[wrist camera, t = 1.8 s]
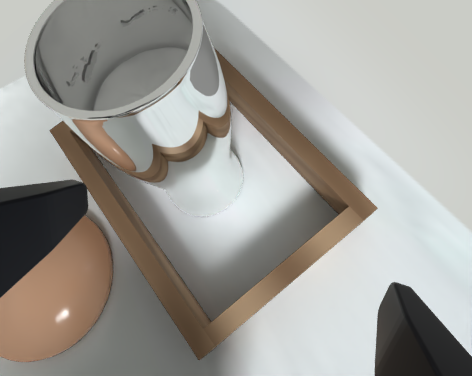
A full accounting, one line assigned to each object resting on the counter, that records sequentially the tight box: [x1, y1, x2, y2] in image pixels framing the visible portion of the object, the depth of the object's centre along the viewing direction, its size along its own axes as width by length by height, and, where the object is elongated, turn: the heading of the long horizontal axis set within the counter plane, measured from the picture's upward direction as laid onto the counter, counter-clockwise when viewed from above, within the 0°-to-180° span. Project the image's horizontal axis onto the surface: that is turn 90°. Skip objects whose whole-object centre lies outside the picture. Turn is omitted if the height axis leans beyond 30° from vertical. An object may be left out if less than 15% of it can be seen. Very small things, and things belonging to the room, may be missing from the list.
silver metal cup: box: [24, 0, 243, 217], centre depth 18 cm, size 7×7×15 cm
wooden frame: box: [50, 48, 378, 360], centre depth 24 cm, size 14×20×3 cm
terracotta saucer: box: [0, 216, 113, 362], centre depth 24 cm, size 11×11×1 cm
